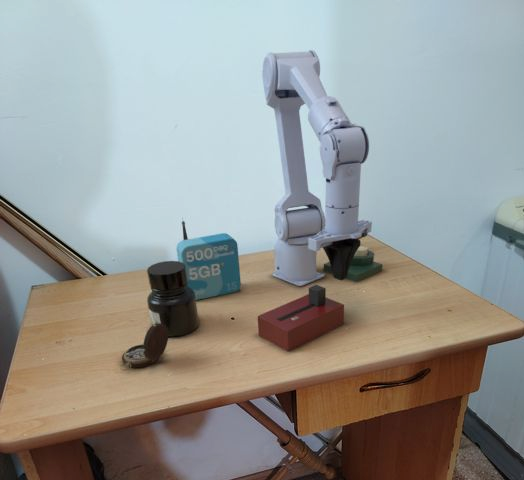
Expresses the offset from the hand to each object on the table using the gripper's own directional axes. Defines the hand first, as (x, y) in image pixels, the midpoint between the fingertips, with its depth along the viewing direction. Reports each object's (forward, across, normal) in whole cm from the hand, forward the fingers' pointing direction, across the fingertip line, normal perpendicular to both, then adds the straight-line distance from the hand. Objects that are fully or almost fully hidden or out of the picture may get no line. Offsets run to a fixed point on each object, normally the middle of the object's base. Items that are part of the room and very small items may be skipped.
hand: (339, 278), depth 88 cm
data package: (+7, -12, +26) cm, 30 cm away
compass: (+7, -37, +11) cm, 39 cm away
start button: (+4, +20, +12) cm, 24 cm away
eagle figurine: (+7, +28, +21) cm, 36 cm away
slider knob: (+3, -6, 0) cm, 7 cm away
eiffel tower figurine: (+7, -9, +40) cm, 42 cm away
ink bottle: (+7, -26, +18) cm, 32 cm away
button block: (+7, +18, +12) cm, 23 cm away
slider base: (+7, -10, 0) cm, 12 cm away
